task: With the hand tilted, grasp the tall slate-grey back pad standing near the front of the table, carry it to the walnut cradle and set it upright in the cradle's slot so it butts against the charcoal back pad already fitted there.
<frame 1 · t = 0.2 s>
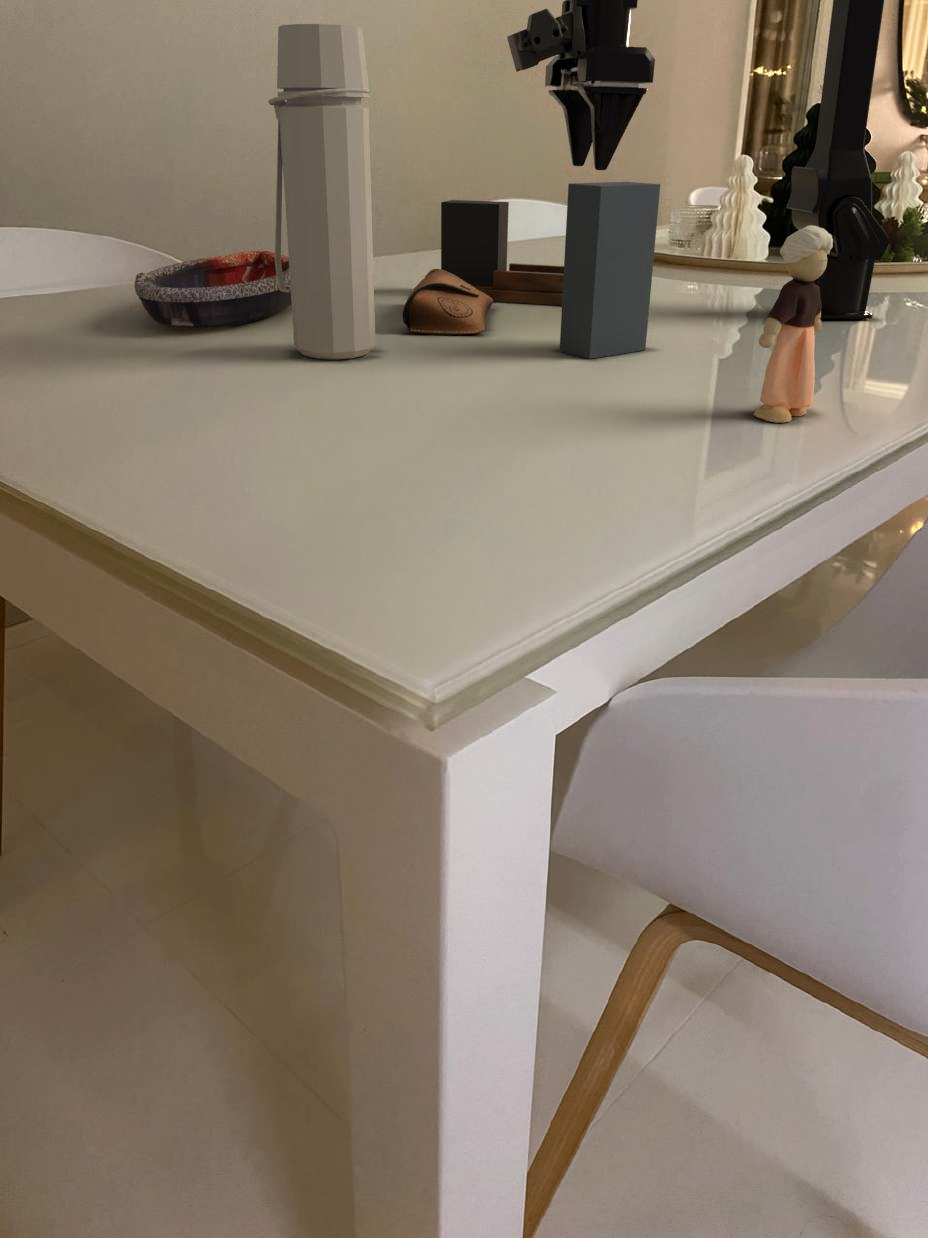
hand: (588, 167, 100), 15 cm above the table, tool pointing down, fingers open, 9 cm apart
back pad: (602, 350, 92), on the table
pad cradle: (538, 297, 119), on the table
water bottle: (326, 354, 90), on the table
grandmother figurine: (782, 416, 73), on the table
sunglasses case: (450, 320, 106), on the table
dish: (232, 312, 108), on the table
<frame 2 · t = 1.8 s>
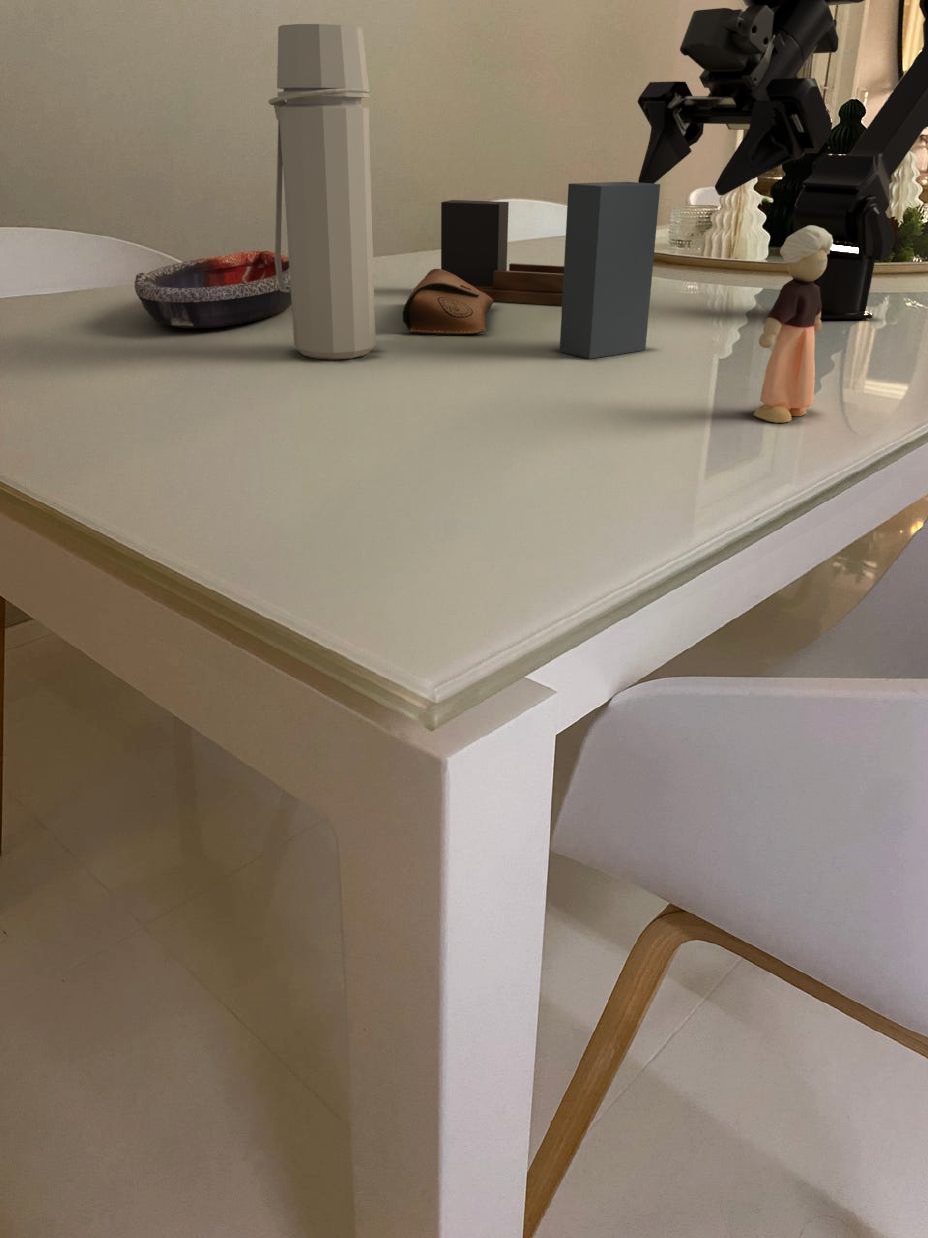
hand: (678, 188, 90), 13 cm above the table, tool tilted 45°, fingers open, 9 cm apart
nothing on the table moved.
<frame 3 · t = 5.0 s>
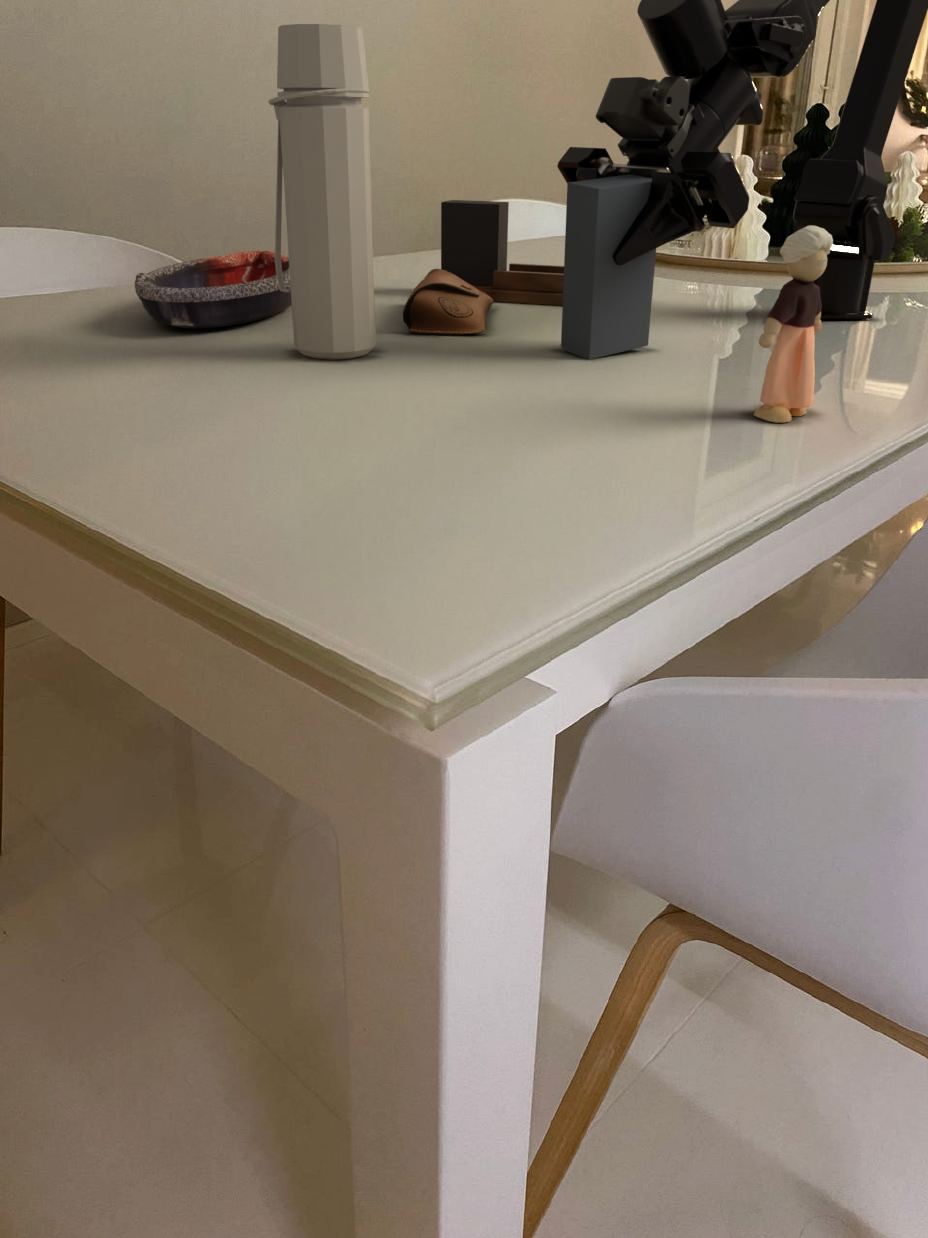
hand: (592, 257, 87), 8 cm above the table, tool tilted 45°, fingers closed on back pad, 5 cm apart
back pad: (604, 347, 92), on the table, tilted 6°, touching gripper
everything else where it was.
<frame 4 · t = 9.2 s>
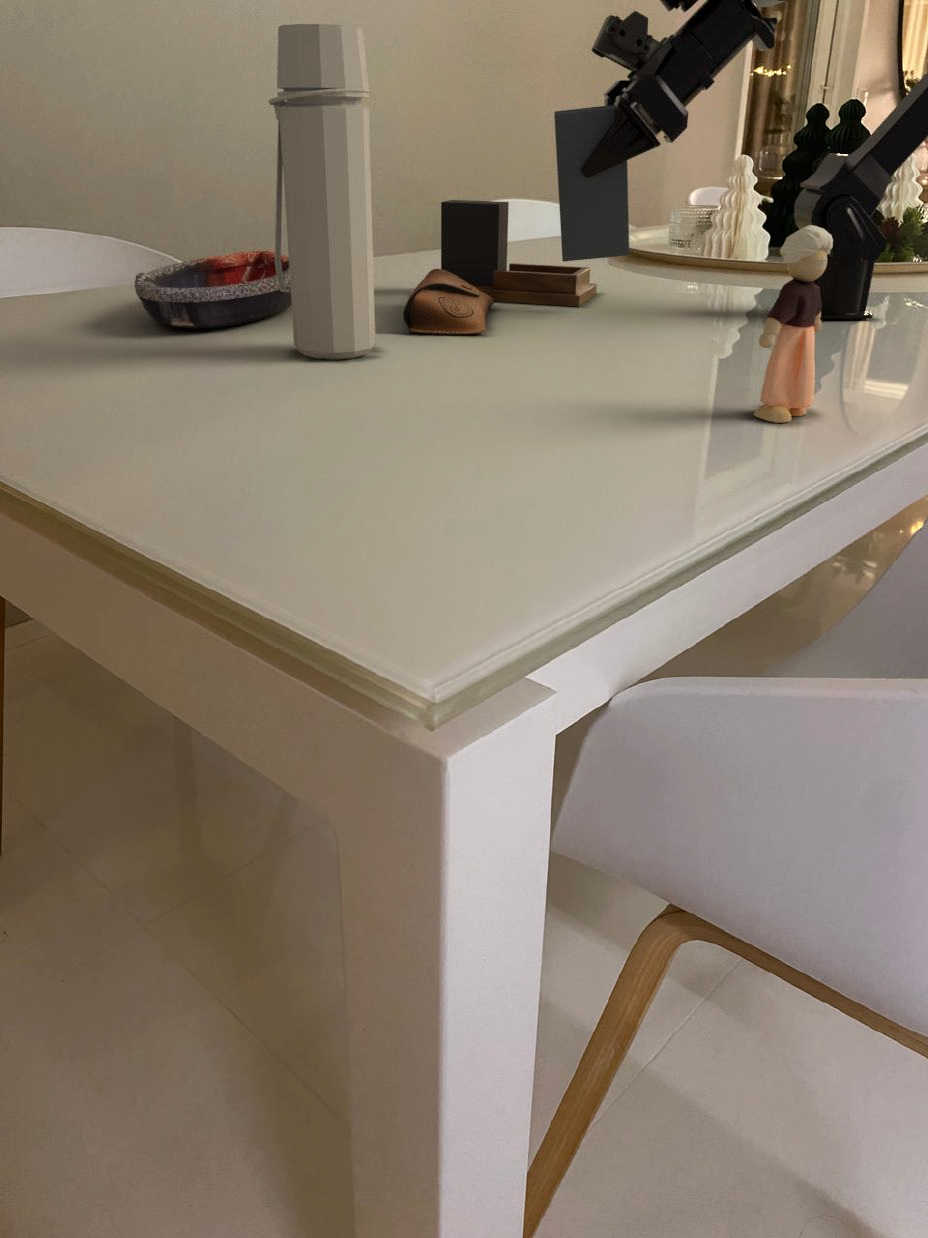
hand: (580, 173, 104), 14 cm above the table, tool tilted 45°, fingers closed on back pad, 4 cm apart
back pad: (595, 254, 108), point 6 cm above the table, tilted 8°, touching gripper
everything else where it was.
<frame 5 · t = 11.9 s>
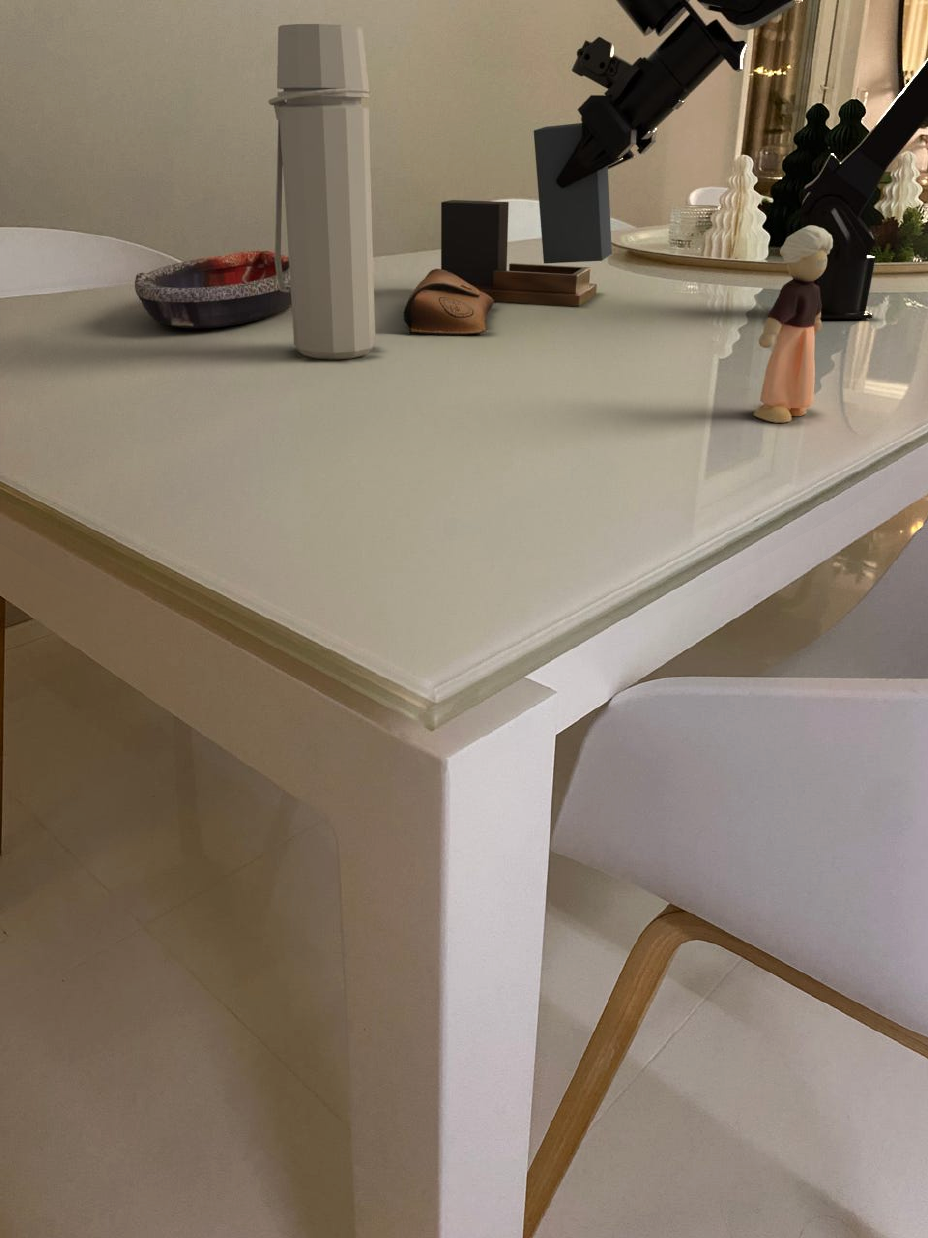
hand: (563, 183, 113), 12 cm above the table, tool tilted 45°, fingers closed on back pad, 4 cm apart
back pad: (577, 258, 117), point 4 cm above the table, tilted 8°, touching gripper
everything else where it was.
when the fingers open (10 cm above the table, at t = 13.7 s): back pad stays where it is, resting on pad cradle.
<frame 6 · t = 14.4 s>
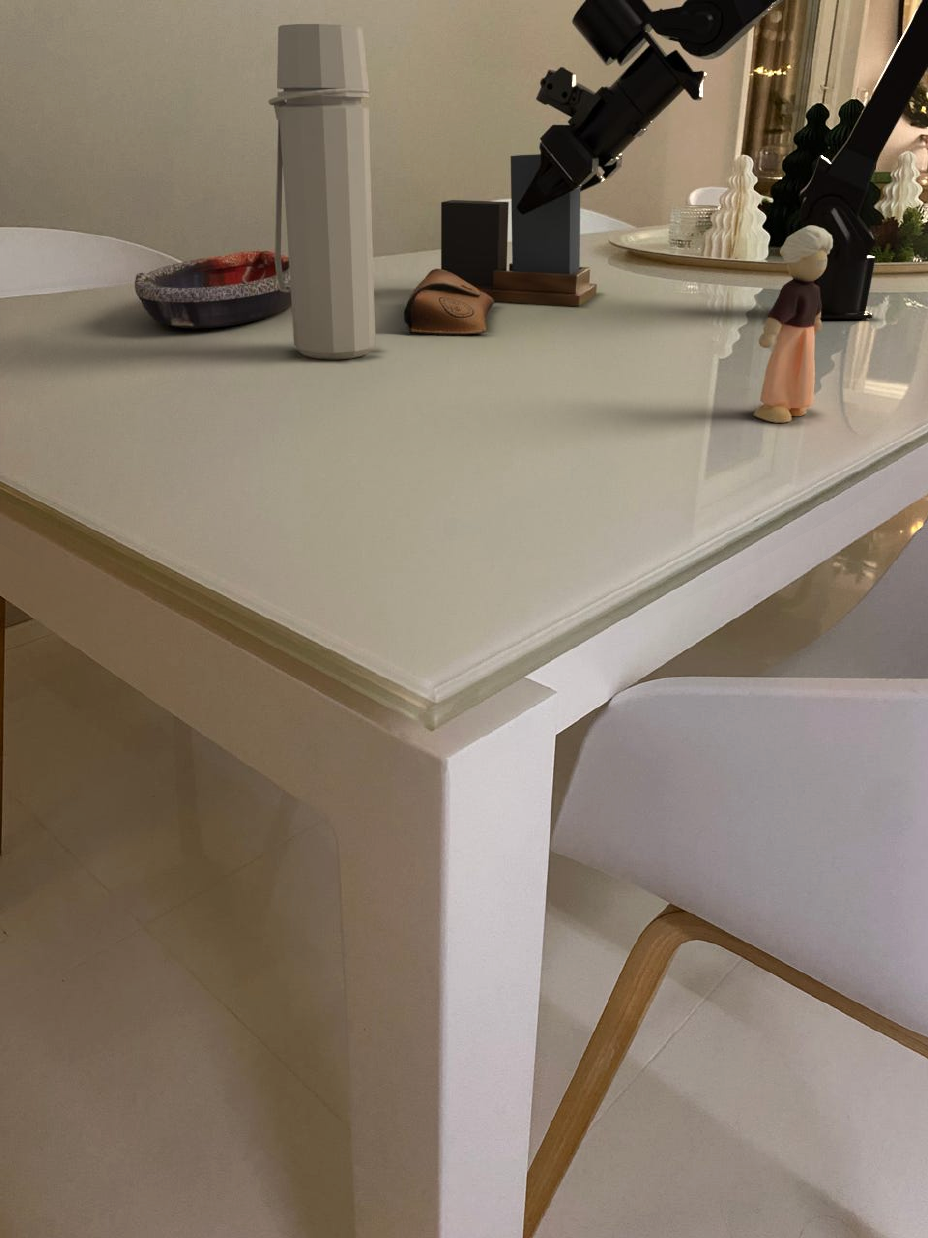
hand: (529, 208, 115), 10 cm above the table, tool tilted 45°, fingers open, 9 cm apart
back pad: (546, 284, 119), point 1 cm above the table, touching gripper, pad cradle
everything else where it was.
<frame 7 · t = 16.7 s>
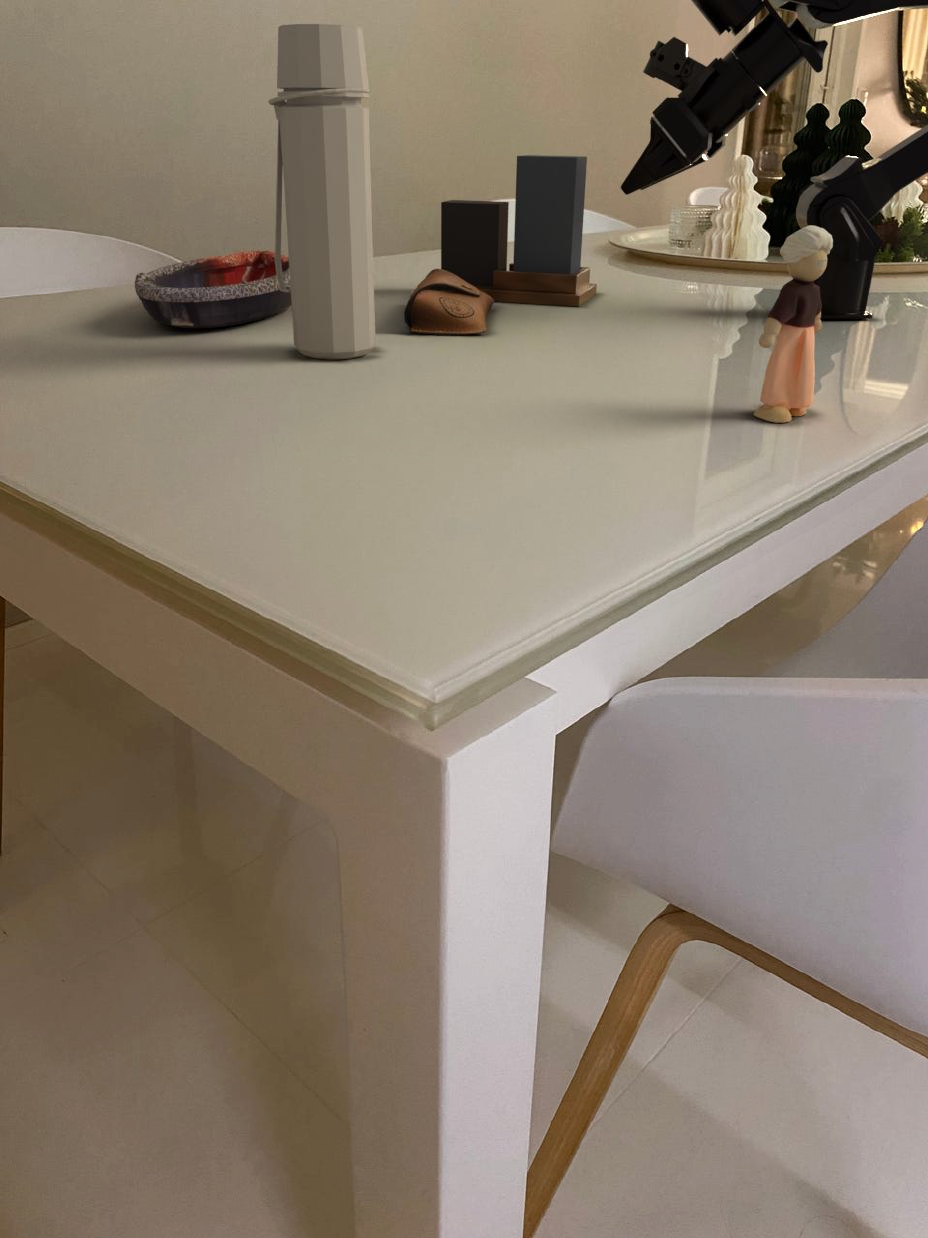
hand: (631, 188, 110), 12 cm above the table, tool tilted 45°, fingers open, 9 cm apart
back pad: (546, 286, 119), point 1 cm above the table, touching pad cradle
everything else where it was.
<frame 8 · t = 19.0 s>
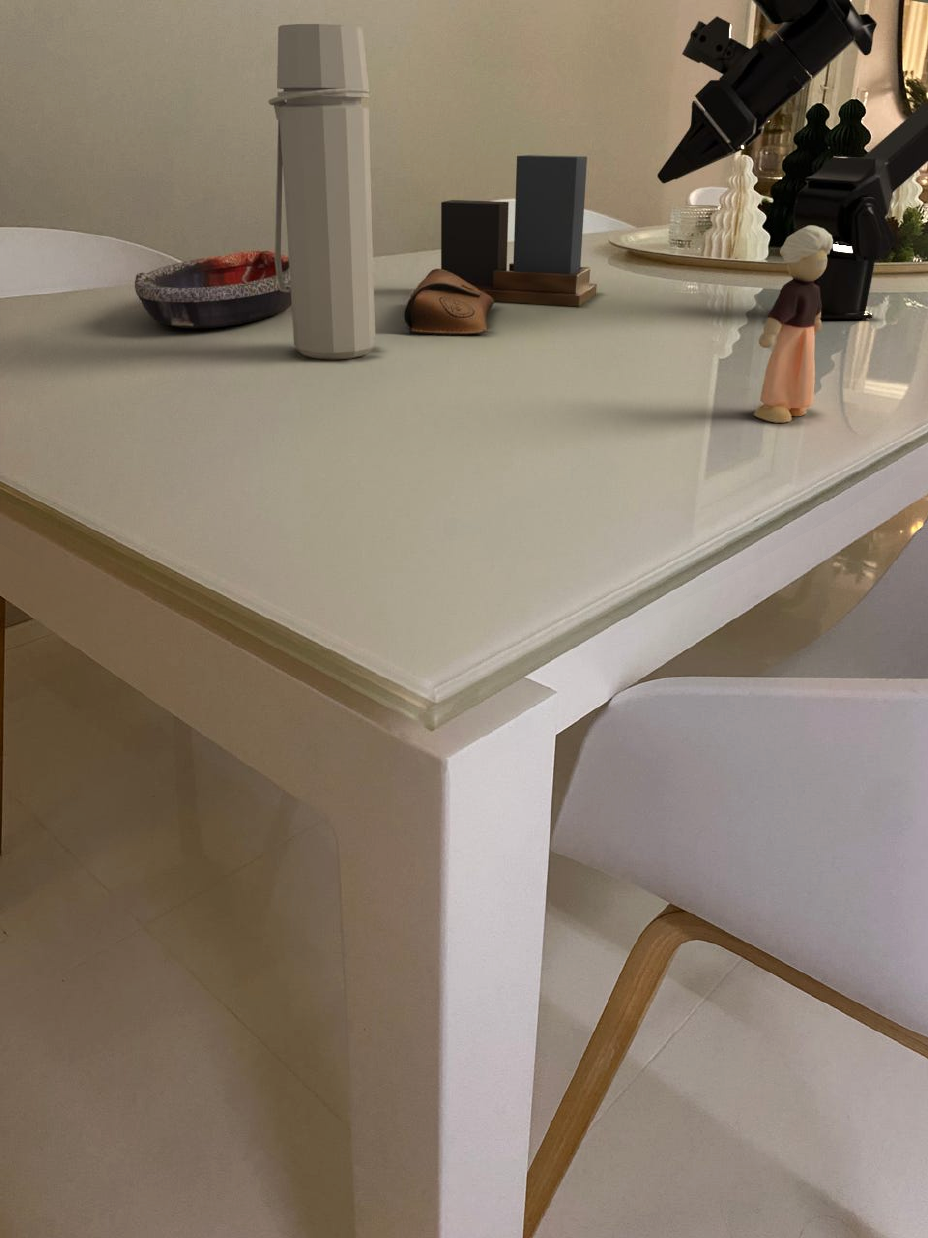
hand: (666, 177, 104), 14 cm above the table, tool tilted 45°, fingers open, 9 cm apart
nothing on the table moved.
at the end: back pad 1.0 cm off-centre on the pad cradle, point 1.2 cm above the pad cradle's base; back pad tilted 0°; the gripper is holding nothing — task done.
